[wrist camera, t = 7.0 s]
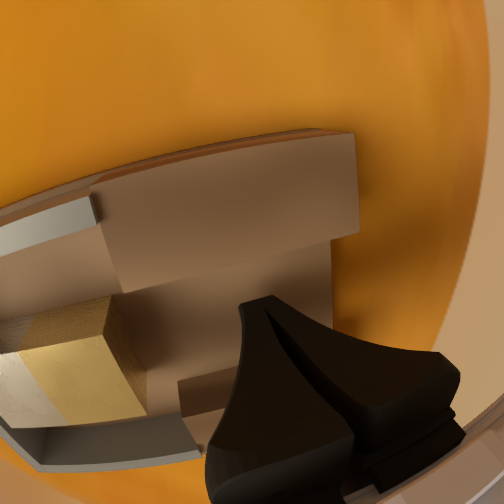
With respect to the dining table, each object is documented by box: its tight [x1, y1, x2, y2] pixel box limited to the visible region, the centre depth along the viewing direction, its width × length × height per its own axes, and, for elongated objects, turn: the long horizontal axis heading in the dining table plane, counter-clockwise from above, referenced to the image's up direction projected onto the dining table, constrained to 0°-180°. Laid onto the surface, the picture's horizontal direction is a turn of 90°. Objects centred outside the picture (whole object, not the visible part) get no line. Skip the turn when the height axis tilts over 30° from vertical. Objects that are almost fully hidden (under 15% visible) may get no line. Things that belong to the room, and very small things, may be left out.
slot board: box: [0, 128, 360, 454], centre depth 11 cm, size 12×17×3 cm
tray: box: [0, 185, 203, 473], centre depth 10 cm, size 12×10×2 cm
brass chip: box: [17, 294, 147, 425], centre depth 10 cm, size 4×4×2 cm
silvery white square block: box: [0, 313, 70, 428], centre depth 10 cm, size 4×4×2 cm
